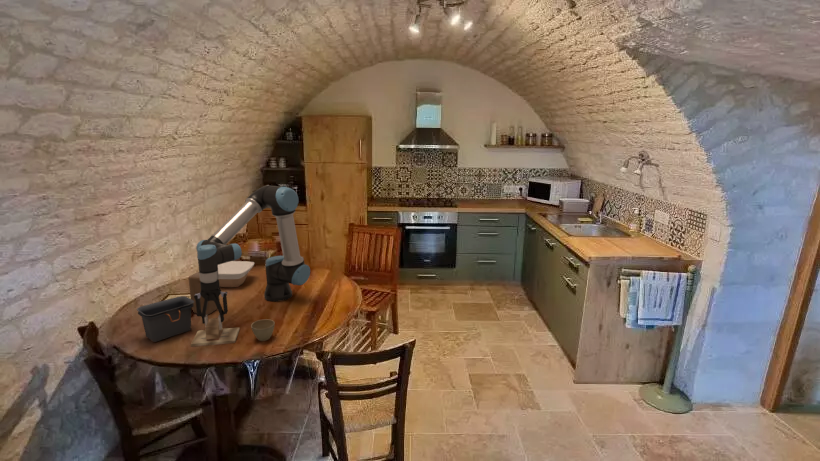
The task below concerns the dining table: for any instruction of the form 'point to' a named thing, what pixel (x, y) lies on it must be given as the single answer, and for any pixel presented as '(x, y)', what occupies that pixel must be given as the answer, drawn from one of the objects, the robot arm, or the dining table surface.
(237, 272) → the bowl
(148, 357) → the dining table surface
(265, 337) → the flower pot
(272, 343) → the dining table surface
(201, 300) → the wooden block
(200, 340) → the board
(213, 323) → the block
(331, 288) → the dining table surface
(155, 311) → the storage bin
